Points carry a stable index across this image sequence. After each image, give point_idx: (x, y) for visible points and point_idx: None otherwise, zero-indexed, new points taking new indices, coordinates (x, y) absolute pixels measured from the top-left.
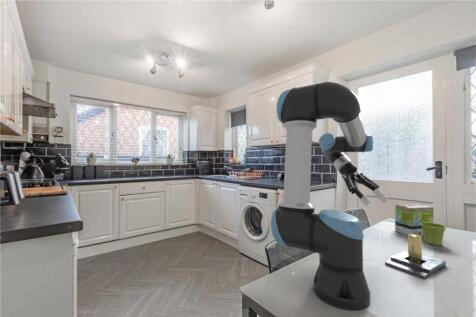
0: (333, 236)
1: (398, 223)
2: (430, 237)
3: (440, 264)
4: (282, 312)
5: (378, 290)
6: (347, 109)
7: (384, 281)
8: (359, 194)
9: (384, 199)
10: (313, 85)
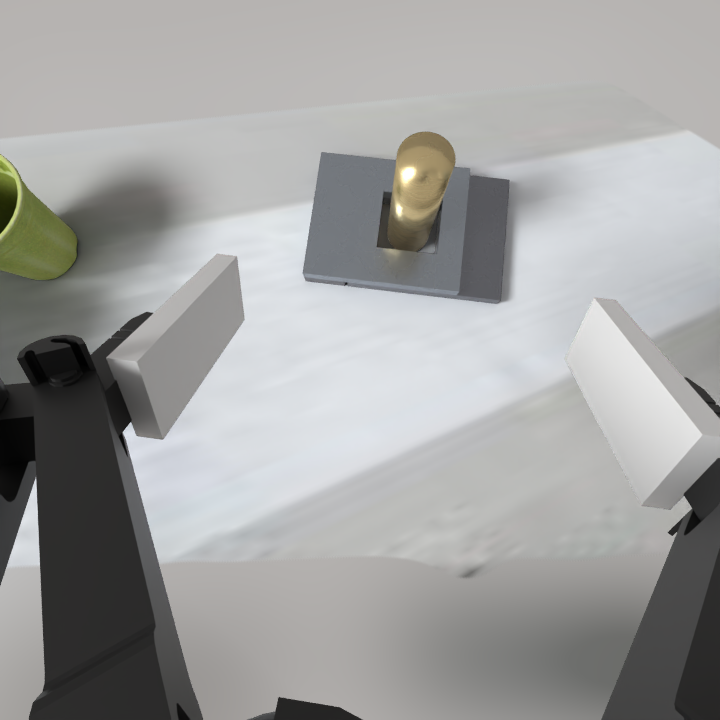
0: None
1: None
2: (56, 236)
3: (372, 159)
4: None
5: (710, 249)
6: None
7: (636, 258)
8: (714, 412)
9: (231, 292)
10: None
